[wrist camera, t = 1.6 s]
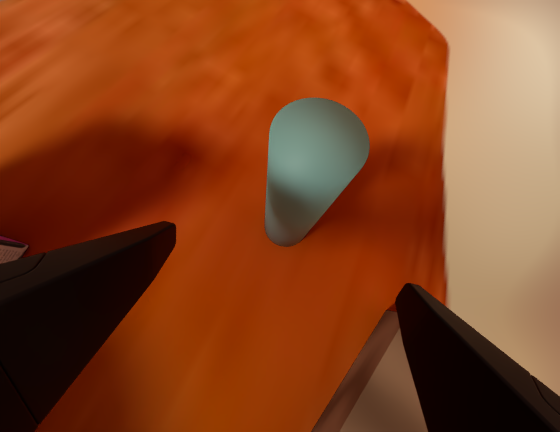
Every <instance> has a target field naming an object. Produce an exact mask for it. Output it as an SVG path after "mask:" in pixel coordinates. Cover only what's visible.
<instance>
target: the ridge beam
mask: <svg viewBox="0 0 560 432" xmlns="http://www.w3.org/2000/svg"><path fill="white" fill-rule="evenodd" d="M311 432H428V430H427V427H426V423H425V420H424V416H423V413H422V409H421V406H420V402H419V399H418V395H417V392H416V388H415V385H414V381H413V378H412V374H411V371H410V367H409V364H408V360H407V357H406V353H405V350H404V346H403V342H402V337H401V332H400V326H399V321H398V315H397V312H394V311H388V310H386V311H385V313H384V315H383V316H382V318H381V320H380V321H379V323H378V324H377V326H376V328H375V329H374V331H373V332H372V334H371V336H370V337H369V339H368V341H367V342H366V344H365V345H364V347H363V349H362V350H361V352H360V354H359V355H358V357H357V358H356V360H355V362H354V363H353V365H352V367H351V368H350V370H349V371H348V373H347V375H346V376H345V378H344V379H343V381H342V383H341V384H340V386H339V388H338V389H337V391H336V392H335V394H334V396H333V397H332V399H331V401H330V402H329V404H328V405H327V407H326V409H325V410H324V412H323V414H322V415H321V417H320V418H319V420H318V422H317V423H316V425H315V426H314V428H313V430H312V431H311Z"/></svg>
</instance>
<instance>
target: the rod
mask: <svg viewBox="0 0 560 432" xmlns="http://www.w3.org/2000/svg"><path fill="white" fill-rule="evenodd" d="M369 148H370V146H369V137H368V134H367V131H366V129H365V126H364V125H363V123H362V122H361V120H360V119H359V118H358V117H357V116H356V115H355V114H354V113H353V112H352V111H351V110H349V109H348V108H346V107H345V106H343V105H341V104H339V103H337V102H334V101H332V100H328V99H323V98H305V99H300V100H296V101H294V102H292V103H290V104H288V105H286V106H285V107H284V108H282V109H281V110H280V111H279V112H278V113H277V115H276V116H275V117H274V119H273V121H272V124H271V127H270V133H269V151H268V170H267V189H266V208H265V231H266V234H267V236H268V238H269V239H270V240H271V241H272V242H273V243H275V244H277V245H279V246H284V247H289V246H293V245H296V244H297V243H299V242H300V241H301V240H302V239H303V238H304V237H305V235H306V234H307V233H308V232H309V231H310V229H311V228H312V227H313V226H314V225H315V223H316V222H317V221H318V220H319V219H320V217H321V216H322V215H323V214H324V213H325V211H326V210H327V209H328V208H329V207H330V205H331V204H332V203H333V202H334V201H335V199H336V198H337V197H338V196H339V195H340V193H341V192H342V191H343V190H344V189H345V187H346V186H347V185H348V184H349V183H350V181H351V180H352V179H353V178H354V177H355V175H356V174H357V173H358V172H359V171H360V169H361V168H362V167H363V165H364V164H365V162H366V160H367V158H368V154H369Z"/></svg>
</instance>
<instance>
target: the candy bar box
mask: <svg viewBox="0 0 560 432" xmlns="http://www.w3.org/2000/svg"><path fill="white" fill-rule="evenodd" d="M27 248H28V245H27V244H24V243H21V242H18V241H15V240H13V239H10V238H7V237H3V236H1V235H0V264H1V263H5V262H9V261H13V260H17V259H20V258H21V257H22V255H23V254H24V252H25V251H26V249H27Z"/></svg>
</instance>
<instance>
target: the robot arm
mask: <svg viewBox="0 0 560 432" xmlns="http://www.w3.org/2000/svg"><path fill="white" fill-rule="evenodd" d="M175 244H176V225H175V224H174V223H170V222H166V221H162V222H158V223H155V224H151V225H147V226H143V227H139V228H136V229H132V230H128V231H124V232H120V233H117V234H113V235H109V236H105V237H101V238H98V239H94V240H90V241H86V242H82V243H79V244H75V245H71V246H67V247H63V248H60V249H56V250H52V251H48V252H47V253H40V254H37V255H33V256H29V257H25V258H21V259H17V260H13V261H9V262H5V263H1V264H0V432H34V431H35V430H36V429H37V427H38V424H40V423H41V422H42V421H43V419H44V418H45V417H46V416H47V414H48V413H49V412H50V411H51V409H52V408H53V407H54V405H55V404H56V403H57V402H58V400H59V399H60V398H61V397H62V395H63V394H64V393H65V392H66V390H67V389H68V388H69V387H70V385H71V384H72V383H73V381H74V380H75V379H76V378H77V376H78V375H79V374H80V373H81V371H82V370H83V369H84V368H85V366H86V365H87V364H88V363H89V361H90V360H91V359H92V357H93V356H94V355H95V354H96V352H97V351H98V350H99V349H100V347H101V346H102V345H103V344H104V342H105V341H106V340H107V339H108V337H109V336H110V335H111V333H112V332H113V331H114V330H115V328H116V327H117V326H118V325H119V323H120V322H121V321H122V320H123V318H124V317H125V316H126V314H127V313H128V312H129V311H130V309H131V308H132V307H133V306H134V304H135V303H136V302H137V301H138V299H139V298H140V297H141V296H142V294H143V293H144V292H145V290H146V289H147V288H148V287H149V285H150V284H151V283H152V281H153V280H154V279H155V277H156V276H157V274H158V272H159V271H160V269H161V268H162V266H163V264H164V263H165V261H166V260H167V258H168V256H169V255H170V253H171V252H172V250H173V248H174V247H175ZM395 304H396V310H397V315H398V321H399V326H400V332H401V337H402V342H403V346H404V350H405V353H406V357H407V360H408V364H409V367H410V371H411V374H412V378H413V381H414V385H415V388H416V392H417V395H418V399H419V402H420V406H421V409H422V413H423V416H424V420H425V423H426V427H427V430H428V432H560V396H558V395H557V394H556V393H554V392H553V391H552V390H551V389H549V388H548V387H547V386H546V385H544V384H543V383H542V382H540V381H539V380H537V378H535V377H534V376H532V375H530V373H529V372H528V371H527V370H525V369H524V368H523V367H521V366H520V365H519V364H518V363H516V362H515V361H514V360H513V359H511V358H510V357H509V356H508V355H506V354H505V353H504V352H502V351H501V350H500V349H499V348H497V347H496V346H495V345H494V344H492V343H491V342H490V341H489V340H487V339H486V338H485V337H484V336H482V335H481V334H480V333H479V332H477V331H476V330H475V329H473V328H472V327H471V326H470V325H468V324H467V323H466V322H465V321H463V320H462V319H461V318H460V317H458V316H456V314H454V313H453V312H452V311H451V310H449V309H448V308H447V307H446V306H444V305H443V304H442V303H441V302H439V301H438V300H437V299H436V298H434V297H433V296H432V295H431V294H429V293H428V292H427V291H425V290H424V289H423V288H422V287H420V286H419V285H416V284H412V283H406V284H405V285H404V287H403V288H402V290H401V291H400V293H399V294H398V296H397V297H396V301H395Z"/></svg>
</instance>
